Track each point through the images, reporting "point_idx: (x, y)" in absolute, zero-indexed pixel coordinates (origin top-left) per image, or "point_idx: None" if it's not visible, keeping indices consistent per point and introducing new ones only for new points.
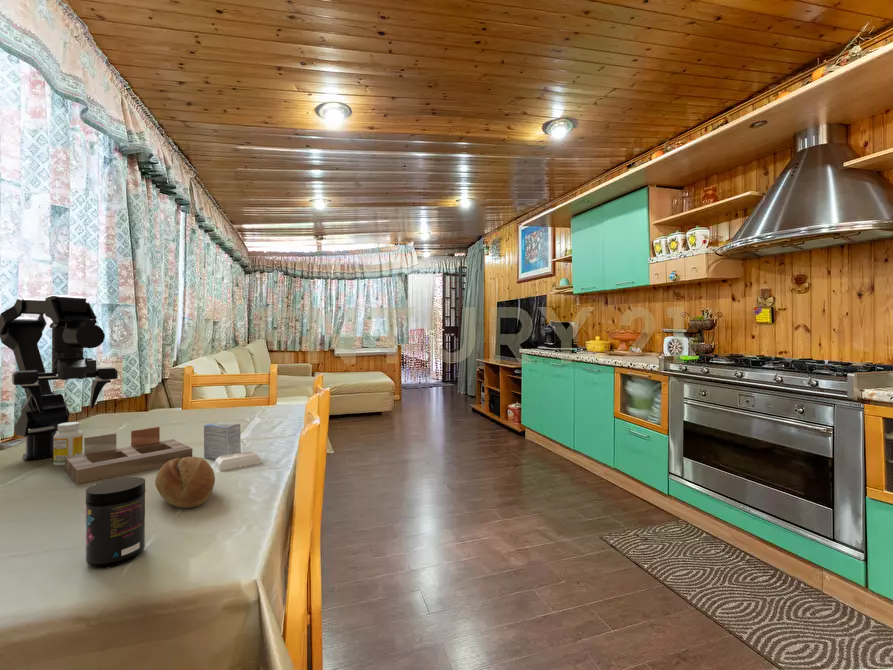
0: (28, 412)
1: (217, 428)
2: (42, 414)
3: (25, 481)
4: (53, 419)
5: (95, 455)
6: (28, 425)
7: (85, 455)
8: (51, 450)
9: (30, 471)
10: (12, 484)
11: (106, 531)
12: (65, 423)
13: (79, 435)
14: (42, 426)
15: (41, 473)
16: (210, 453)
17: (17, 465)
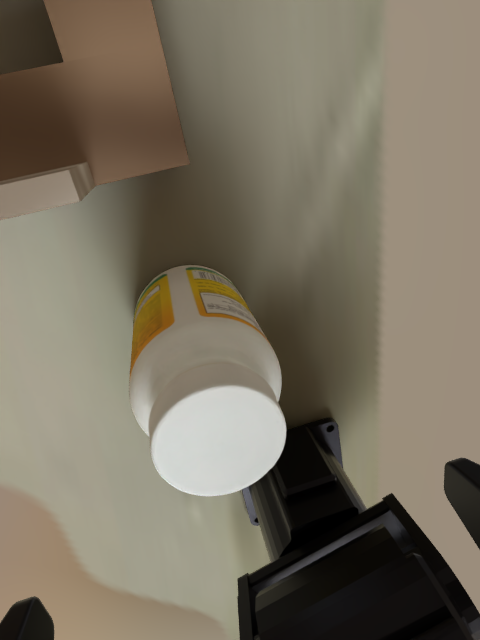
0: (467, 628)
1: None
2: (391, 608)
3: (324, 36)
4: (315, 589)
5: (8, 79)
6: (414, 534)
7: (78, 127)
8: None
9: (313, 239)
10: (368, 14)
11: None
12: (242, 463)
13: (140, 355)
14: (347, 543)
15: (273, 165)
16: None
17: (353, 371)
